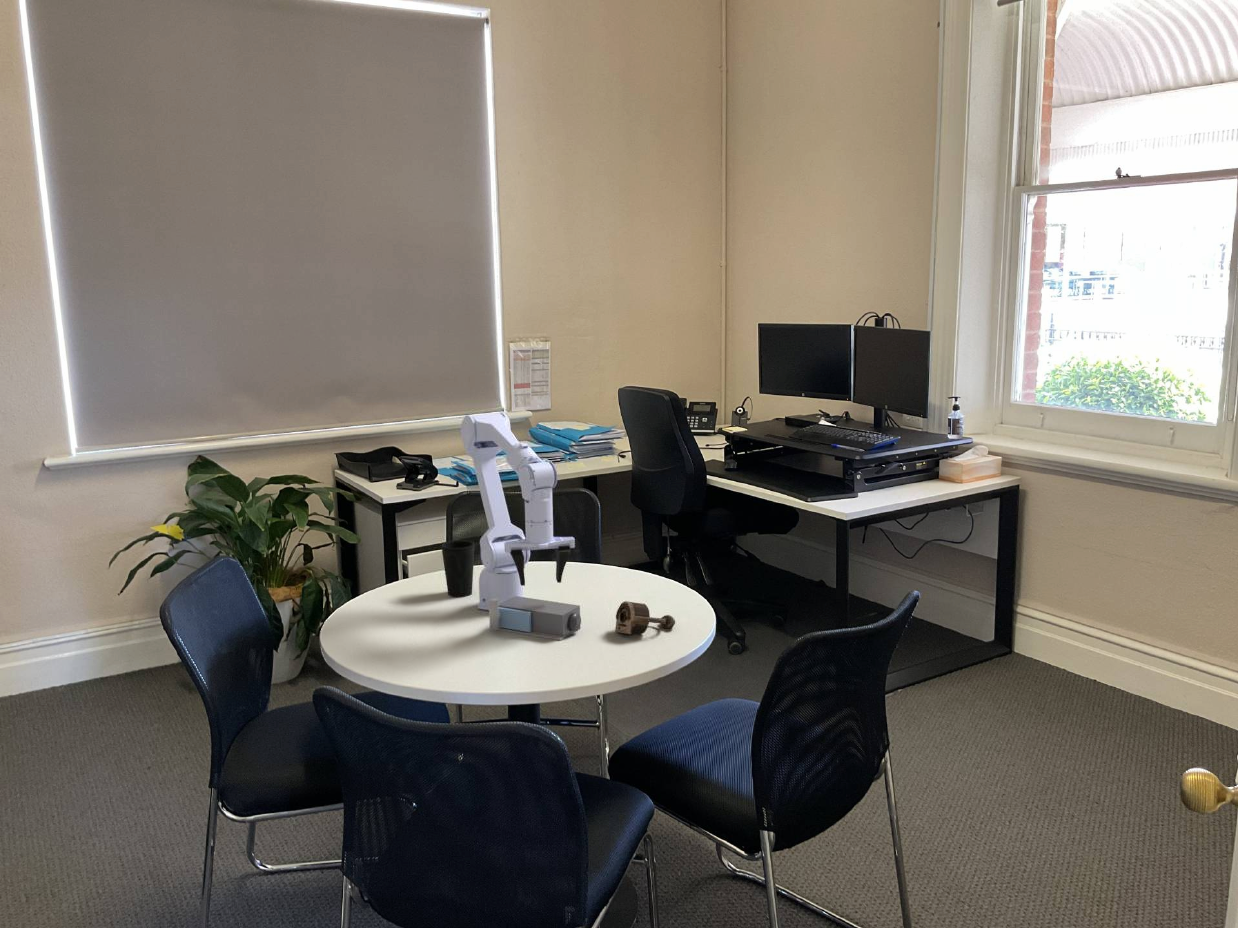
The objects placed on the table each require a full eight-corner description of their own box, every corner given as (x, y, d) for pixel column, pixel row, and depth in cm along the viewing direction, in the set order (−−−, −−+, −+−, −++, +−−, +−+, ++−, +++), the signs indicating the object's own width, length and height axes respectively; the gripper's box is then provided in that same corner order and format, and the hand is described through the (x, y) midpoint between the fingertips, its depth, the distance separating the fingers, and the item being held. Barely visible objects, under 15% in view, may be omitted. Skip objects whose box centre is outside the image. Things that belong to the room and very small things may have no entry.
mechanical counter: (610, 600, 209) (613, 604, 199) (669, 592, 210) (675, 596, 200) (614, 634, 209) (618, 640, 199) (673, 625, 210) (680, 631, 200)
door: (488, 629, 205) (486, 600, 204) (496, 625, 208) (495, 596, 207) (522, 635, 201) (521, 606, 200) (531, 631, 204) (530, 601, 203)
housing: (495, 629, 208) (494, 606, 207) (516, 618, 215) (515, 595, 214) (565, 641, 200) (565, 617, 199) (585, 629, 207) (584, 606, 206)
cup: (483, 591, 234) (481, 542, 232) (461, 600, 228) (459, 550, 226) (458, 587, 238) (456, 538, 236) (436, 595, 232) (434, 545, 230)
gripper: (506, 526, 199) (508, 591, 202) (577, 521, 203) (578, 585, 205) (502, 518, 206) (504, 581, 209) (570, 514, 210) (571, 575, 212)
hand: (540, 582), depth 207 cm, fingers open, 7 cm apart
